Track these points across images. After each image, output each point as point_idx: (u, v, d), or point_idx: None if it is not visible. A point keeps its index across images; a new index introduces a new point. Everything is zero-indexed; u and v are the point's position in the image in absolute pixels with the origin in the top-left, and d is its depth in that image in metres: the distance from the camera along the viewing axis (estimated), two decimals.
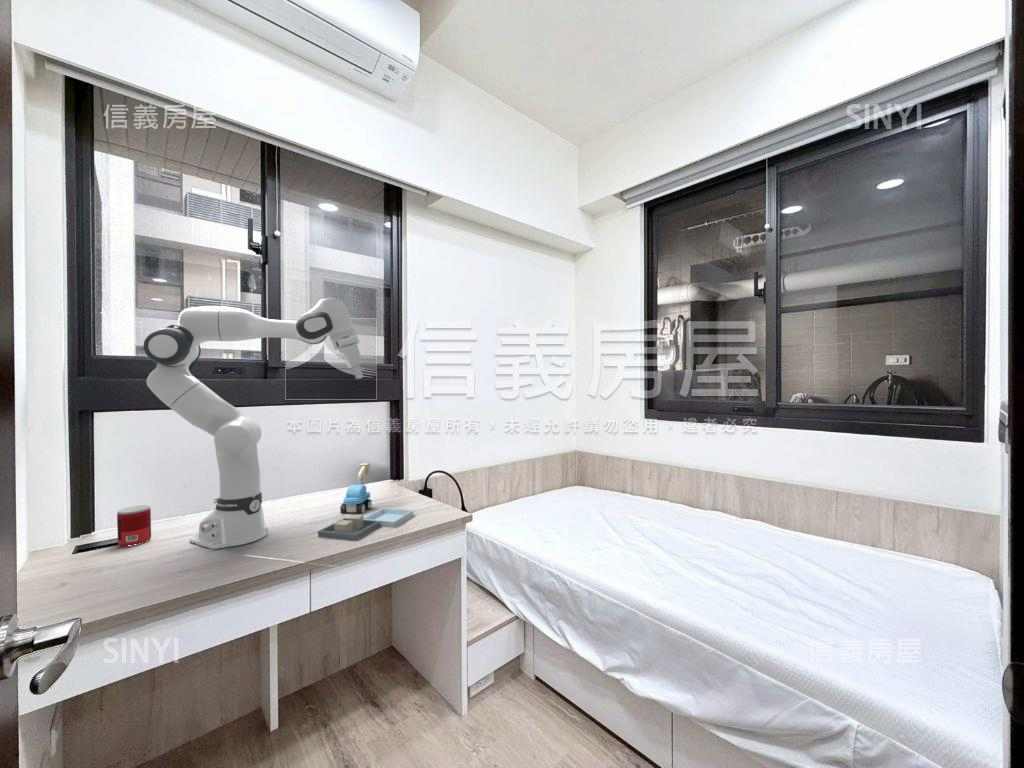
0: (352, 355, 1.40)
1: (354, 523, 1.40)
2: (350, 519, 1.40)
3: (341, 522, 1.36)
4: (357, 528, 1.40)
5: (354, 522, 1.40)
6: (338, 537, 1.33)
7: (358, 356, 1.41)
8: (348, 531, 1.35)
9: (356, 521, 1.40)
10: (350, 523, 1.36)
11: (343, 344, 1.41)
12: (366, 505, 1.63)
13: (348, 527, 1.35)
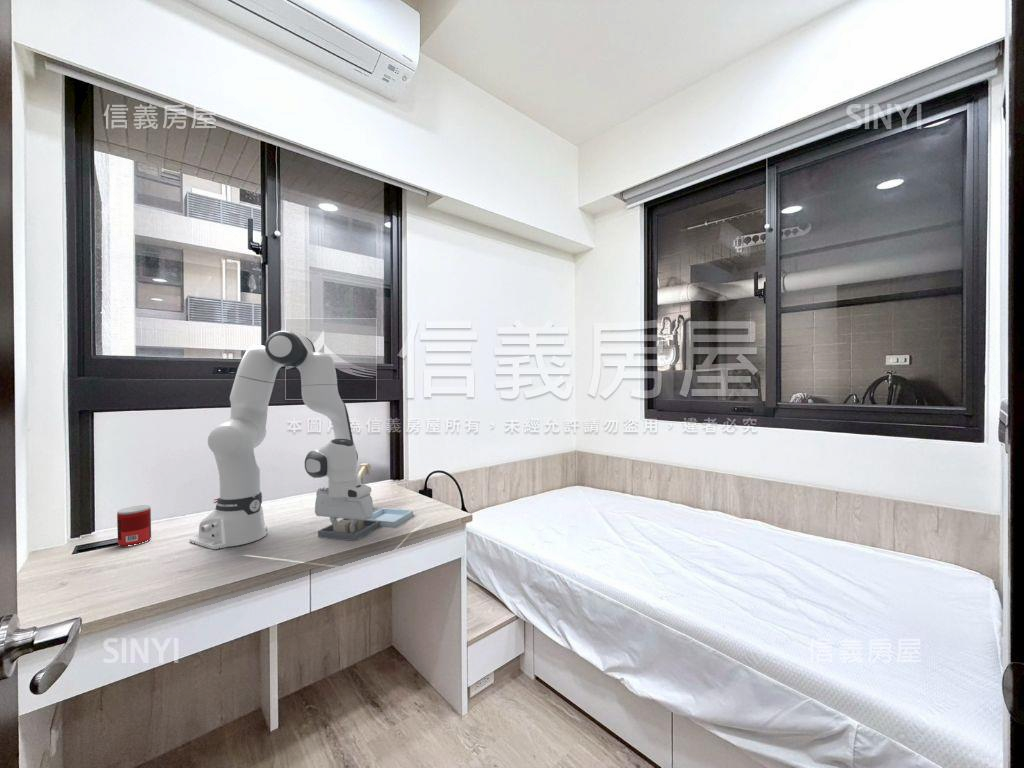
0: (369, 508, 1.33)
1: None
2: None
3: (341, 522, 1.36)
4: (357, 528, 1.40)
5: None
6: (338, 537, 1.33)
7: (372, 509, 1.35)
8: None
9: None
10: (350, 523, 1.36)
11: (362, 495, 1.32)
12: None
13: None
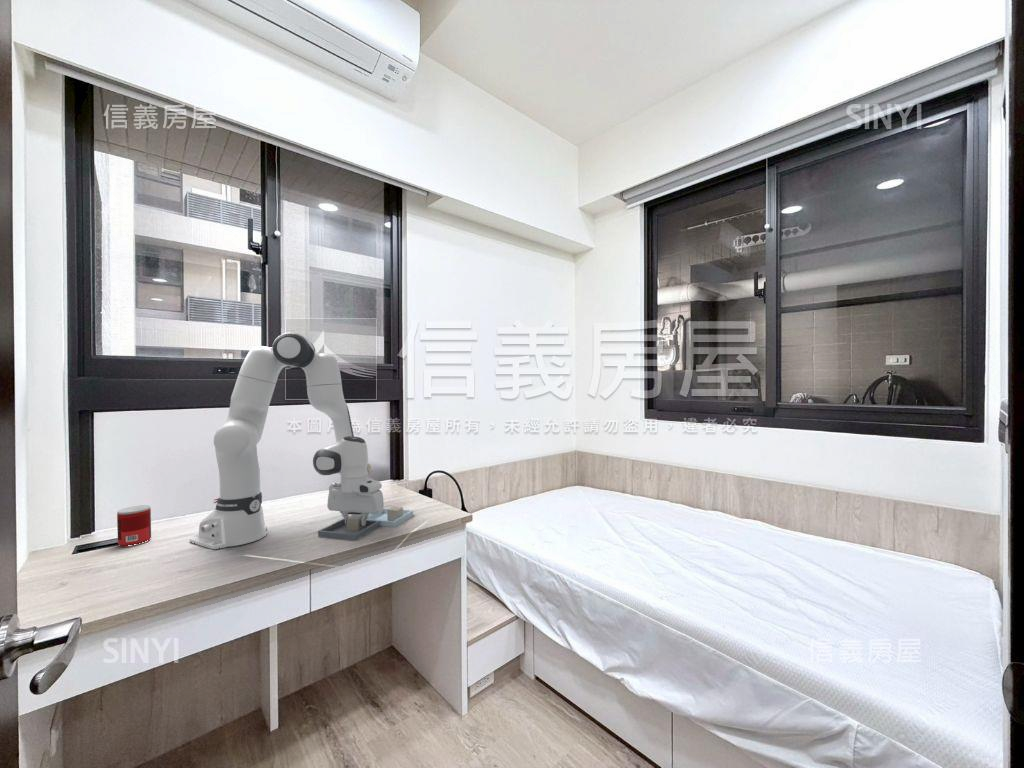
0: (379, 503, 1.39)
1: (354, 523, 1.40)
2: (350, 519, 1.40)
3: (393, 508, 1.50)
4: (357, 528, 1.40)
5: (354, 522, 1.40)
6: (338, 537, 1.33)
7: (383, 504, 1.41)
8: (399, 516, 1.50)
9: (356, 521, 1.40)
10: (401, 509, 1.51)
11: (374, 490, 1.38)
12: None
13: (399, 512, 1.50)
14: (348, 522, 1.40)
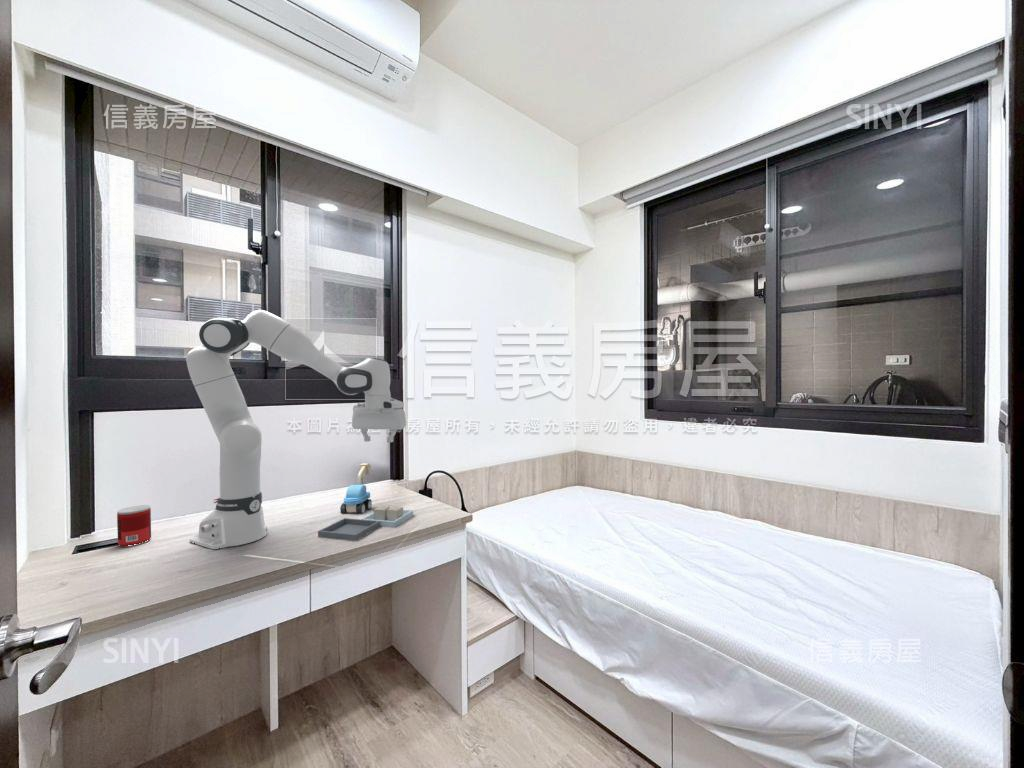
0: (402, 419, 1.46)
1: (380, 514, 1.49)
2: (377, 510, 1.49)
3: (393, 508, 1.50)
4: (383, 519, 1.49)
5: (380, 513, 1.49)
6: (338, 537, 1.33)
7: (405, 421, 1.48)
8: (399, 516, 1.50)
9: (382, 512, 1.49)
10: (401, 509, 1.51)
11: (397, 406, 1.45)
12: (366, 505, 1.63)
13: (399, 512, 1.50)
14: (375, 513, 1.49)
